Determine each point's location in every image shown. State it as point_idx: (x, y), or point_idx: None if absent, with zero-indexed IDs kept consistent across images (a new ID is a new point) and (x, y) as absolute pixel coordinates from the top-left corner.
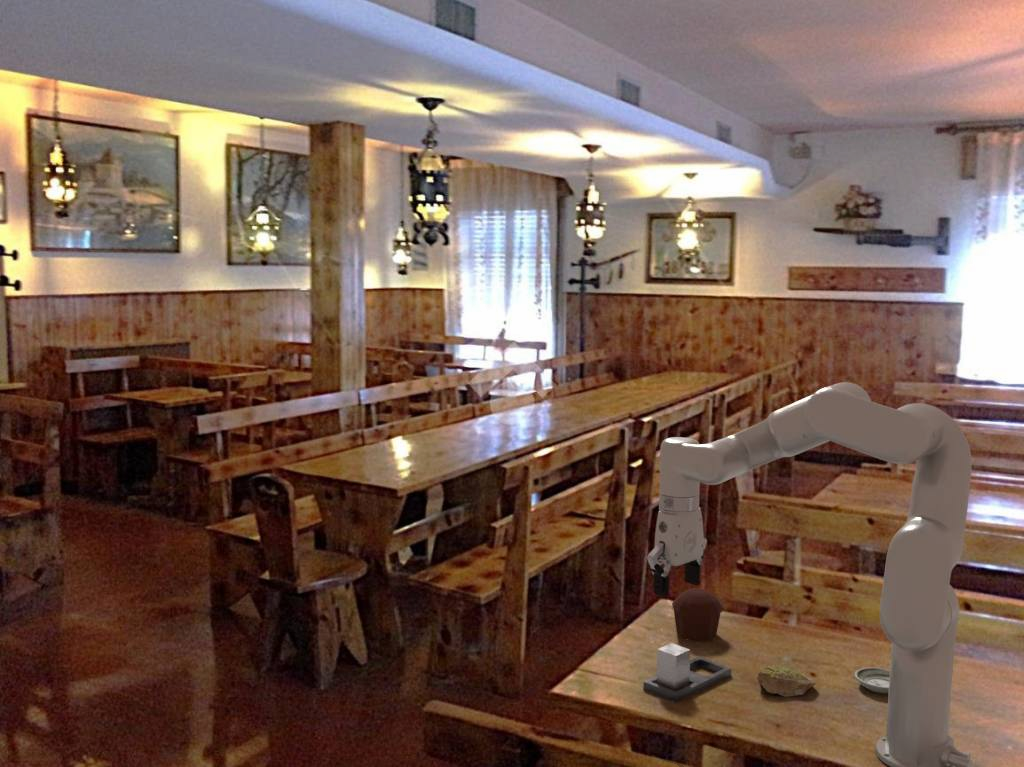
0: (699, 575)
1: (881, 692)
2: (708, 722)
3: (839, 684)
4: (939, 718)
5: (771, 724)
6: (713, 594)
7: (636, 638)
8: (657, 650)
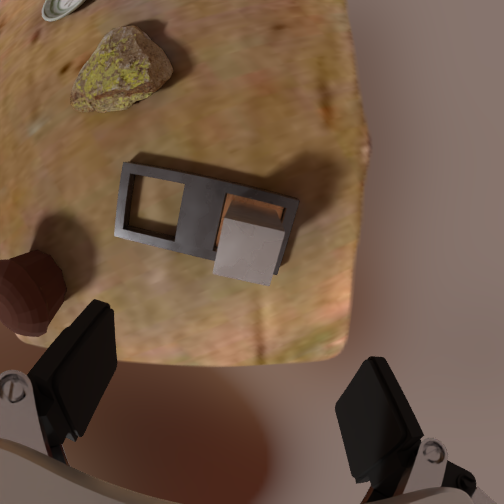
0: (71, 331)
1: None
2: (337, 123)
3: (82, 27)
4: None
5: (281, 35)
6: None
7: None
8: (269, 284)
